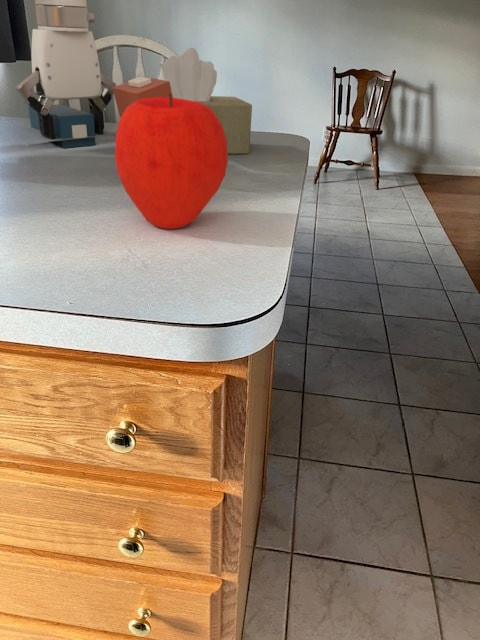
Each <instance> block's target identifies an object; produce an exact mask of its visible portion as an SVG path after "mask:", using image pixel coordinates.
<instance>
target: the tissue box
mask: <svg viewBox="0 0 480 640" xmlns="http://www.w3.org/2000/svg"><path fill="white" fill-rule="evenodd" d="M160 67H161V69H162V72H163V75H164V80H165V81H169V82H170V87H171V91H172V96H173V98H178V99H184V100H189V101H194V102H199V103H203V104H204V105H206V106H208V107H210V108H211V109H212V110H213V112H214V113H215V115H216V117H217V118H218V120H219V121H220V123H221V125H222V127H223V130H224V133H225V137H226V140H227V153H228V155H250V147H251V132H252V117H253V116H252V115H253V105H252V104H251V103H249V102H247V101H245V100H242V99H240V98H238V97H237V96H222V95H221V96H220V95H219V96H218V95H215V96H214V95H212V94H213V92H214V88H215V86H216V84H217V78H218V71H217V70H216V69H215V65H214V63H213V62H212V61H211V60H210V61H204V60H202V59H200V55H199V53H198V50H197V49H196V48H194V47H189V48H186V50H185V51H184V52H183V53H182V54H180V55H178V56H176V55H174V54H173V55H171V56H169V58H168V59H167V60H166V61H165V62H162V63H160Z"/></svg>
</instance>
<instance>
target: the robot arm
mask: <svg viewBox="0 0 480 640" xmlns="http://www.w3.org/2000/svg"><path fill="white" fill-rule="evenodd" d="M34 4H35V15H36V21H37V28H32V32H31V52H30V53H31V57H30V58H31V74H29V75H28V76H27V77H26V78H24V79H23V80H22V81H21V82H19V83H18V84H17V86H16V91H17V92H18V93H19V95H20V96H21V97H22V99H23V100H24V101H25V103H26V104H27V105H28V107H29V106H30V107H32V108H33V109H34V111H35V112H36V113H38V119H39V127H40V130H39V133H40V135H42V137H44V138H47V139H48V140H55V139H56V136H55V133H54V124H53V117H52V115H49V111H50V109H51V107H52V105H54V103H55V101H66V100H68V101H69V100H86V101H87V102H88V104H89V105H90V106H91V108H90V109H89V111H88V113H91V114H93V115H94V129H95V135H101V136H103V135H104V130H105V119H104V117H105V116H104V112H105V111H106V110H107V106H108V105H109V103H110V102H111V100H112V97H113V96H114V93H113V89H112V88H113V87H115V86H117V83H116V82H115V81H113V80H112V79H110V78H109V77H107V76H106V75H105V74H103V73H102V72H101V69H100V68H101V67H100V61H99V56H98V50H97V46H96V45H97V44H96V42H95V38H94V34H93V31H91V30H90V31H89V28H90V23H91V24H93V23H95V20H96V18H95V14H94V13H93V12H92V13H91V12H89V9H88V8H87V5H88V4H87V0H34ZM102 86H103V90H102ZM32 89H33V91H34V93H35V95H36V96H38V99H37V98H36V97H35V96H34V95H33V93H32V92H31V90H32Z"/></svg>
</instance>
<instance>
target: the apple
mask: <svg viewBox="0 0 480 640" xmlns="http://www.w3.org/2000/svg"><path fill="white" fill-rule="evenodd" d="M114 150H115V151H114V160H115V166H116V171H117V174H118V176H119V178H120V181H121V183H122V187H123V189H124V191H125V193H126V194H127V196H128V197H129V198H130V200H131V201H132V203H133V204H134V206H135V207H136V208H137V210H138V211H139V213H140V214H141V215H142V217H143V218H144V219H145V220H146V222H147V223H150V224H151V225H153V226H154V227H157V228H160V229H162V230H163V229H165V230H176V229H181V228H183V227H185V226H187V225H189V224H190V223H192V222H194V221H195V220H196V219H197V218H198V217H199V215H200V214H201V213H202V212H203V210H204V209H205V207H206V206H207V205H208V204H209V202H210V201H211V200H212V199H213V197H214V196H215V195H216V193H217V192H218V191H219V189H220V187H221V185H222V183H223V180H224V179H225V176H226V172H227V167H228V163H229V157H228V156H229V154H228V153H227V140H226V137H225V133H224V130H223V127H222V125H221V123H220V121H219V120H218V118H217V117H216V115H215V113H214V112H213V110H212V109H211V108H210V107H208V106H206V105H204V104H203V103H199V102H194V101H189V100H184V99H178V98H172V94H169V97H150V98H143V99H139V100H137V101H136V102H134V103H132V104H131V105H129V106H128V107H127V108H126V110H125V111H124V113H123V115H122V116H121V118H120V117H119V120H118V125H117V128H116V133H115V149H114Z"/></svg>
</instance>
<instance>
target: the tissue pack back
mask: <svg viewBox="0 0 480 640" xmlns="http://www.w3.org/2000/svg"><path fill="white" fill-rule="evenodd" d="M28 115H29V122H30V127H31V128H32V129H36V130H38V131H40V127H39V119H38V113H36V112H35V111H34V109H33V108H32V107H30V106H29V105H28ZM49 115H52V117H53V124H54V133H55V138H58V139H60V140H51V141H48V143H49V144H52V145H55V146H56V147H59V148H61V149H69V148H79V147H88V146H89V147H90V146H96V145H97V142H96V137H95V136H96V133H95V129H94V115H93V114H91V113H89V112H87V111H84V110H80V109H78V108H73V107H70V106H67V105H63V104H53V105H52V107H51V109H50V111H49Z"/></svg>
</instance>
